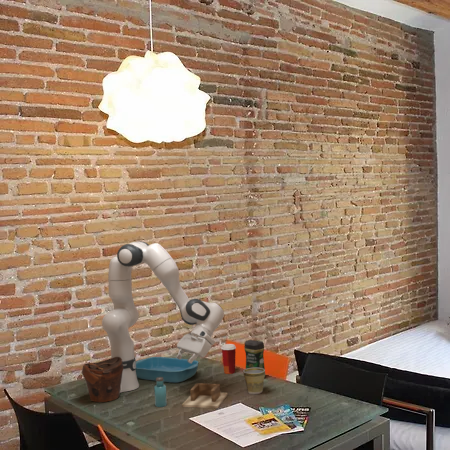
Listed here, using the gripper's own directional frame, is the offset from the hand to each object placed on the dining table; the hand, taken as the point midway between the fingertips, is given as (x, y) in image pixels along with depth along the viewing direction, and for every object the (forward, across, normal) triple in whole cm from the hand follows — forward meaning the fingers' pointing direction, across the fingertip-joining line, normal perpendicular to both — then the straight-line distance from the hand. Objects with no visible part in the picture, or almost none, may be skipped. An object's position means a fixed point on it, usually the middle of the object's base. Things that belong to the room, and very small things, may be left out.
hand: (183, 360), depth 276 cm
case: (+32, -27, -7) cm, 42 cm away
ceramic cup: (-9, +14, +34) cm, 38 cm away
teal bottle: (+21, 0, +3) cm, 21 cm away
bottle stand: (+9, +8, +16) cm, 20 cm away
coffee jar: (-18, -4, +43) cm, 47 cm away
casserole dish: (+5, -38, +20) cm, 43 cm away
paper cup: (-15, -20, +40) cm, 47 cm away
